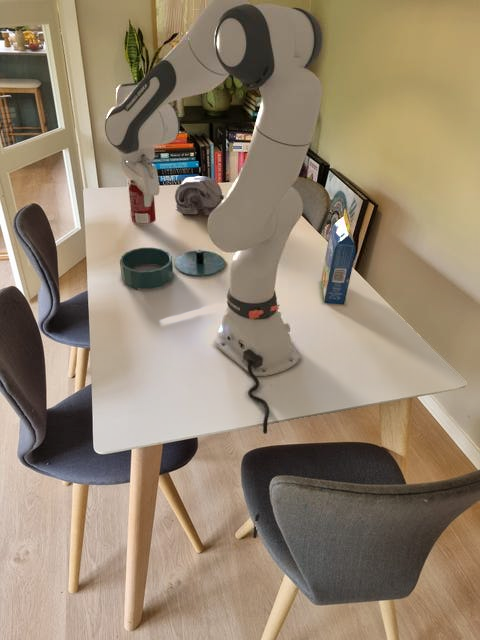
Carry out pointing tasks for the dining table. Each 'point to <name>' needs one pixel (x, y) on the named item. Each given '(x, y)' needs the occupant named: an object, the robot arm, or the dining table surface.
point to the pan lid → (199, 263)
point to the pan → (146, 278)
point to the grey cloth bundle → (198, 195)
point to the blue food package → (338, 262)
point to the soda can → (140, 206)
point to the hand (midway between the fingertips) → (142, 200)
